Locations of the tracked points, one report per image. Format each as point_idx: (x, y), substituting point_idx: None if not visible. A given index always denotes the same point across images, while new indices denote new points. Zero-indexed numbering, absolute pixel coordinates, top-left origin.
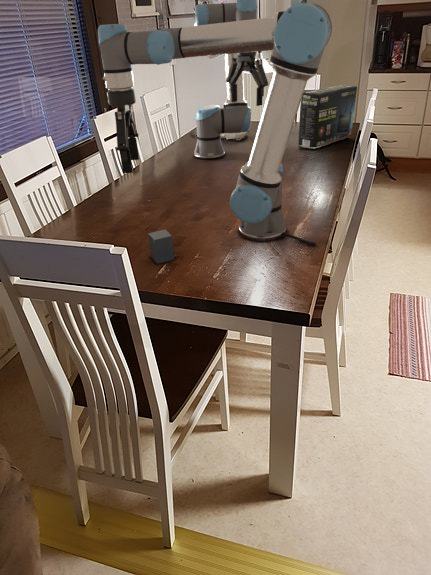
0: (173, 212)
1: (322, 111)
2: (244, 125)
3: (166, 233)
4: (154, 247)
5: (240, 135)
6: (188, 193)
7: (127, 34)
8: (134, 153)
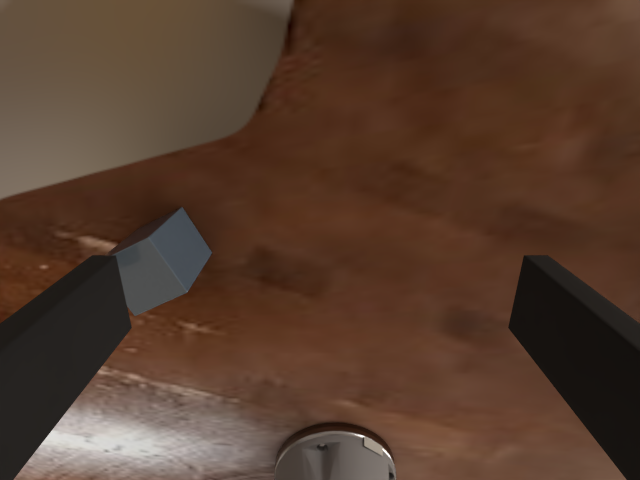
0: (542, 250)
1: None
2: None
3: (152, 298)
4: (115, 247)
5: None
6: None
7: None
8: (546, 337)
